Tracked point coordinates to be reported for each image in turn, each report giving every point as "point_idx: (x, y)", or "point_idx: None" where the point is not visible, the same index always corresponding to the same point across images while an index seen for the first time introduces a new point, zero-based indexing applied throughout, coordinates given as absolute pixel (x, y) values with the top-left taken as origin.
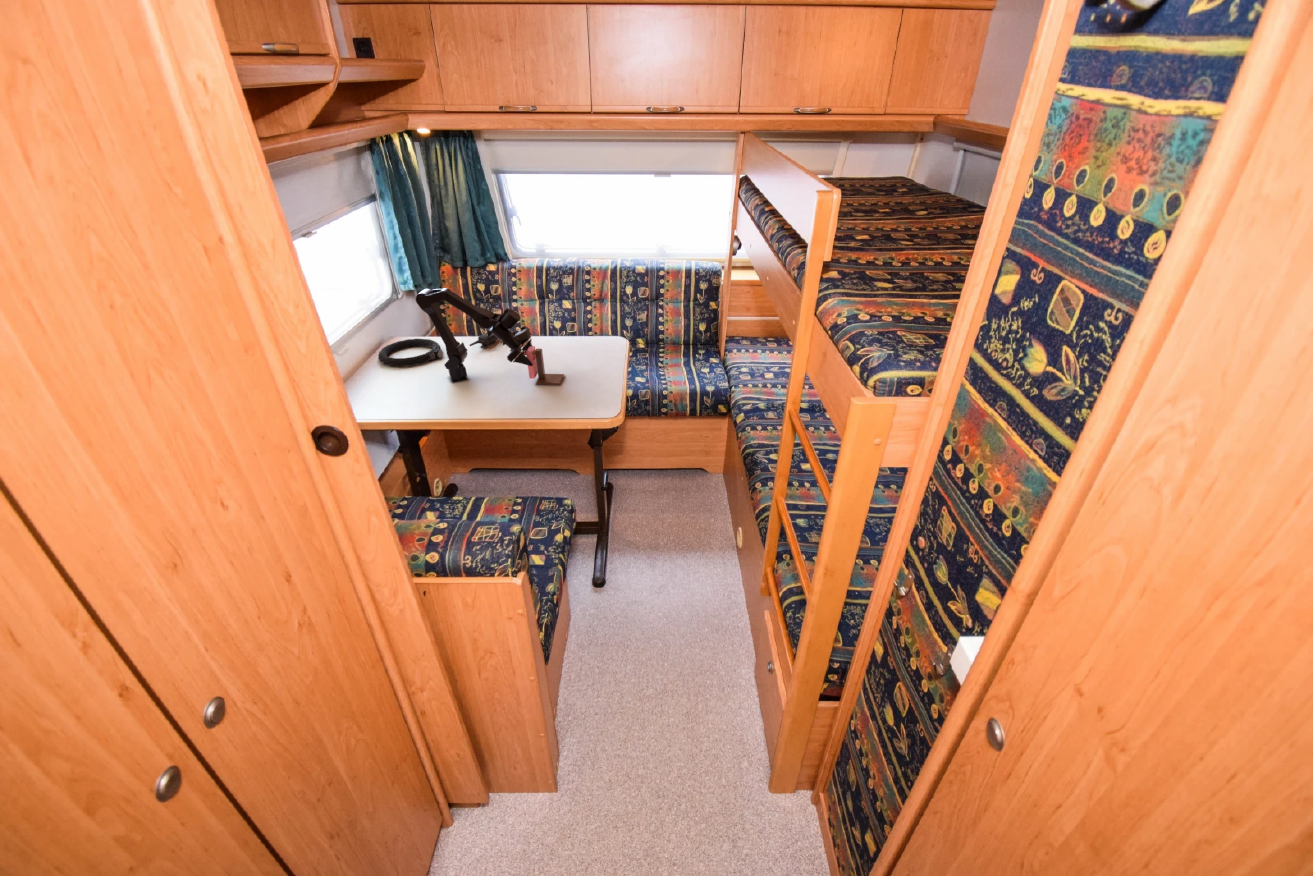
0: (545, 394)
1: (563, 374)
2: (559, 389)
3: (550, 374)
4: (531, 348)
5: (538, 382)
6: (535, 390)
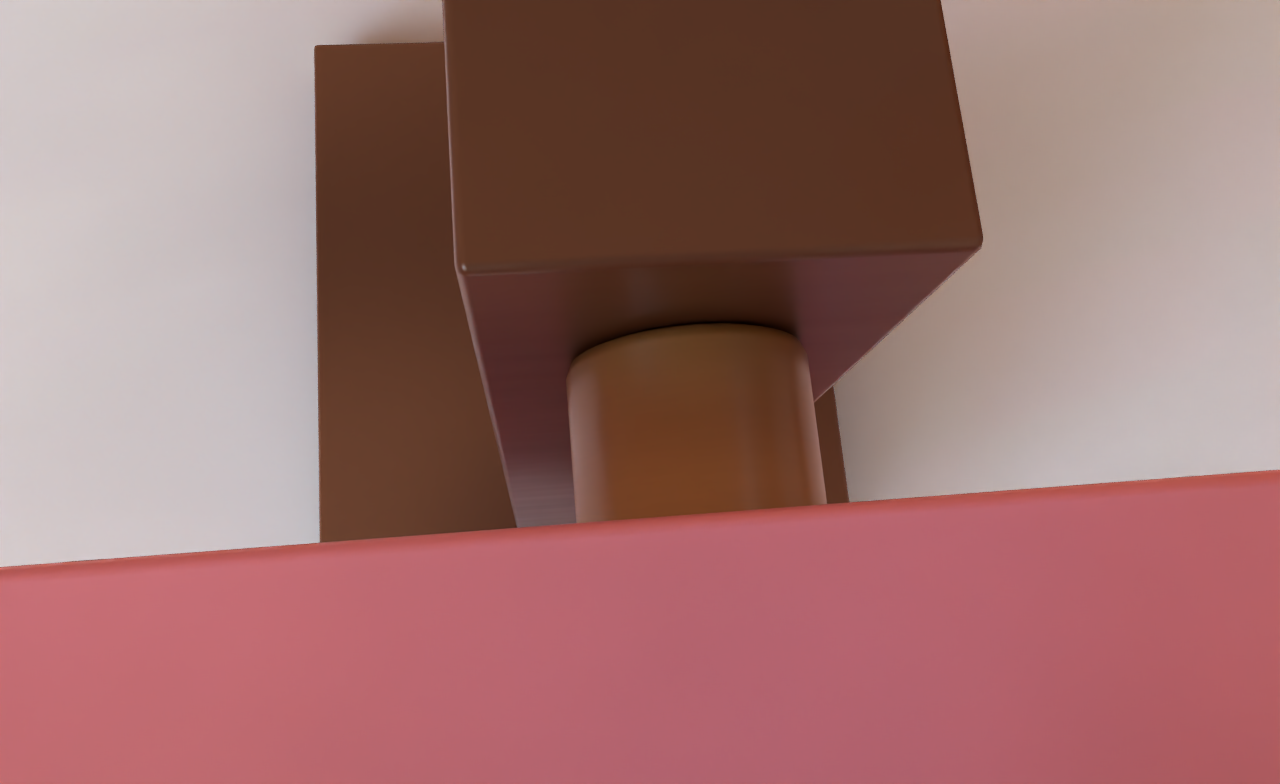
0: (1207, 223)
1: (337, 47)
2: (945, 25)
3: (361, 334)
4: (596, 749)
5: (836, 488)
6: (1099, 477)
